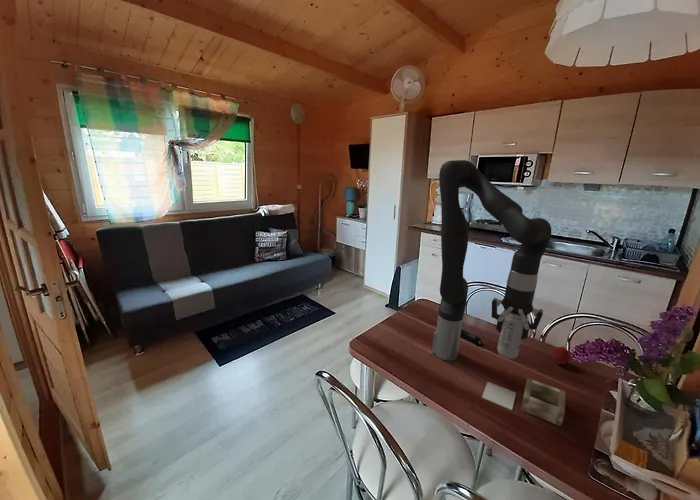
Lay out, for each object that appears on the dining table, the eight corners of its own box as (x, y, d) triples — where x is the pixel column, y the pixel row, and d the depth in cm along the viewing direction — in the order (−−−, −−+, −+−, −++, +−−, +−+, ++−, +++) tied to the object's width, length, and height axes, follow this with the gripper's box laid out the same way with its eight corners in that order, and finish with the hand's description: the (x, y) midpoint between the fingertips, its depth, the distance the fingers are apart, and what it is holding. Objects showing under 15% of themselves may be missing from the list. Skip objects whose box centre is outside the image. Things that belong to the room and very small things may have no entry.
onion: (570, 369, 115) (575, 351, 113) (554, 367, 116) (558, 349, 114) (563, 360, 120) (568, 342, 118) (547, 357, 121) (552, 340, 119)
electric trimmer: (452, 328, 142) (453, 322, 141) (482, 344, 130) (483, 337, 129) (447, 330, 140) (448, 324, 139) (477, 347, 128) (478, 340, 127)
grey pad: (481, 397, 100) (481, 396, 100) (487, 382, 107) (487, 381, 107) (511, 410, 95) (512, 409, 95) (515, 393, 102) (516, 392, 102)
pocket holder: (520, 409, 95) (523, 396, 94) (524, 390, 104) (527, 377, 102) (561, 426, 90) (564, 412, 88) (561, 404, 98) (565, 391, 97)
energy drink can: (521, 360, 93) (530, 317, 89) (501, 359, 94) (510, 316, 89) (512, 349, 99) (520, 307, 95) (493, 348, 99) (501, 306, 95)
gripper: (550, 287, 89) (538, 337, 93) (497, 275, 97) (488, 322, 101) (548, 295, 83) (536, 348, 88) (492, 283, 91) (483, 332, 95)
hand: (510, 334), depth 94 cm, fingers closed on energy drink can, 6 cm apart
